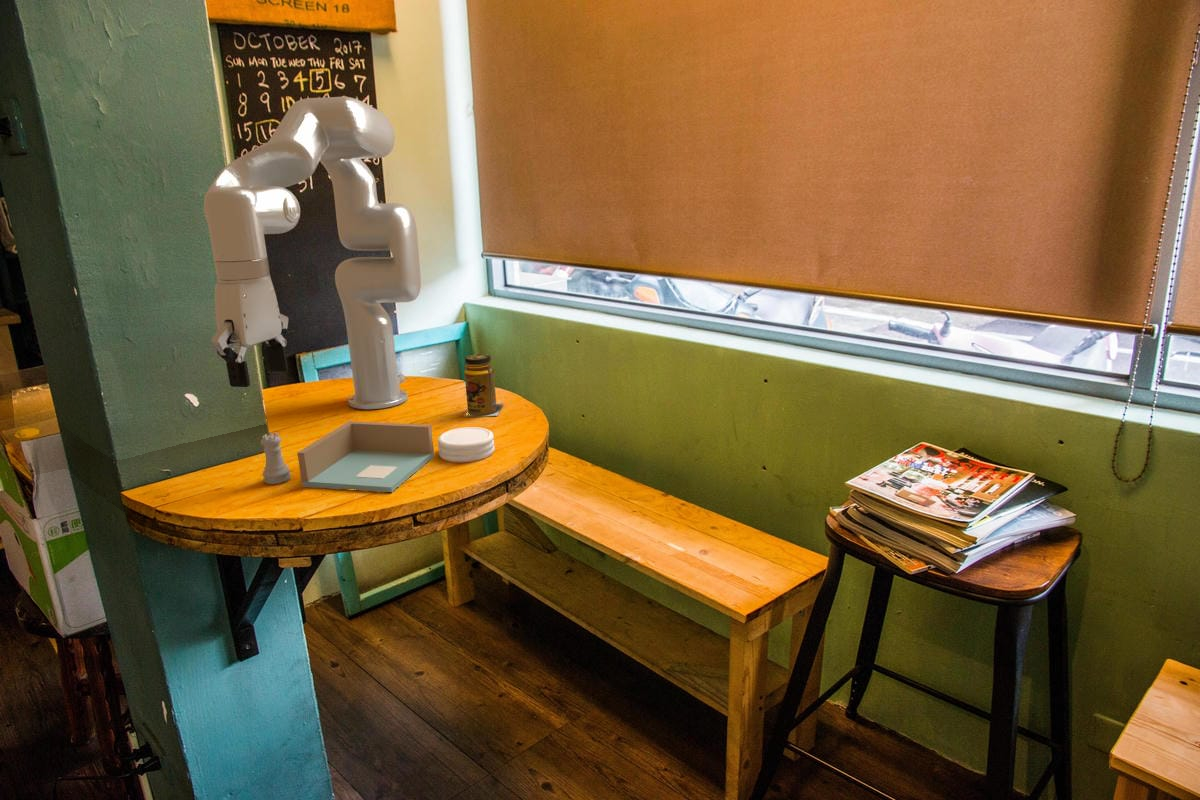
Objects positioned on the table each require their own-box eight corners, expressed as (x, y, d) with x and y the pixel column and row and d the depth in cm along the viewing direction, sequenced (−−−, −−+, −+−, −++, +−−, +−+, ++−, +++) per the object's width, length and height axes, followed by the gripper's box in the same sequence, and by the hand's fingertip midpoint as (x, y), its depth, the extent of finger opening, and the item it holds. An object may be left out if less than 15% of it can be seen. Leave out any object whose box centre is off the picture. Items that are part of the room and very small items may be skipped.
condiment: (462, 417, 160) (457, 360, 156) (471, 405, 168) (466, 351, 164) (497, 416, 160) (493, 360, 156) (504, 404, 168) (500, 350, 164)
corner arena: (353, 452, 142) (349, 421, 140) (434, 456, 138) (431, 424, 137) (302, 486, 127) (297, 452, 125) (391, 493, 124) (387, 457, 122)
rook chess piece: (294, 473, 133) (287, 429, 130) (288, 484, 128) (281, 438, 126) (266, 476, 132) (259, 432, 130) (260, 486, 128) (252, 440, 125)
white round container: (442, 445, 145) (440, 427, 144) (496, 442, 145) (495, 424, 144) (435, 465, 135) (433, 446, 134) (493, 462, 136) (491, 443, 135)
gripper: (257, 264, 129) (272, 364, 134) (181, 279, 113) (202, 392, 118) (297, 264, 127) (311, 365, 132) (226, 279, 111) (245, 394, 116)
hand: (260, 378), depth 125 cm, fingers open, 9 cm apart
